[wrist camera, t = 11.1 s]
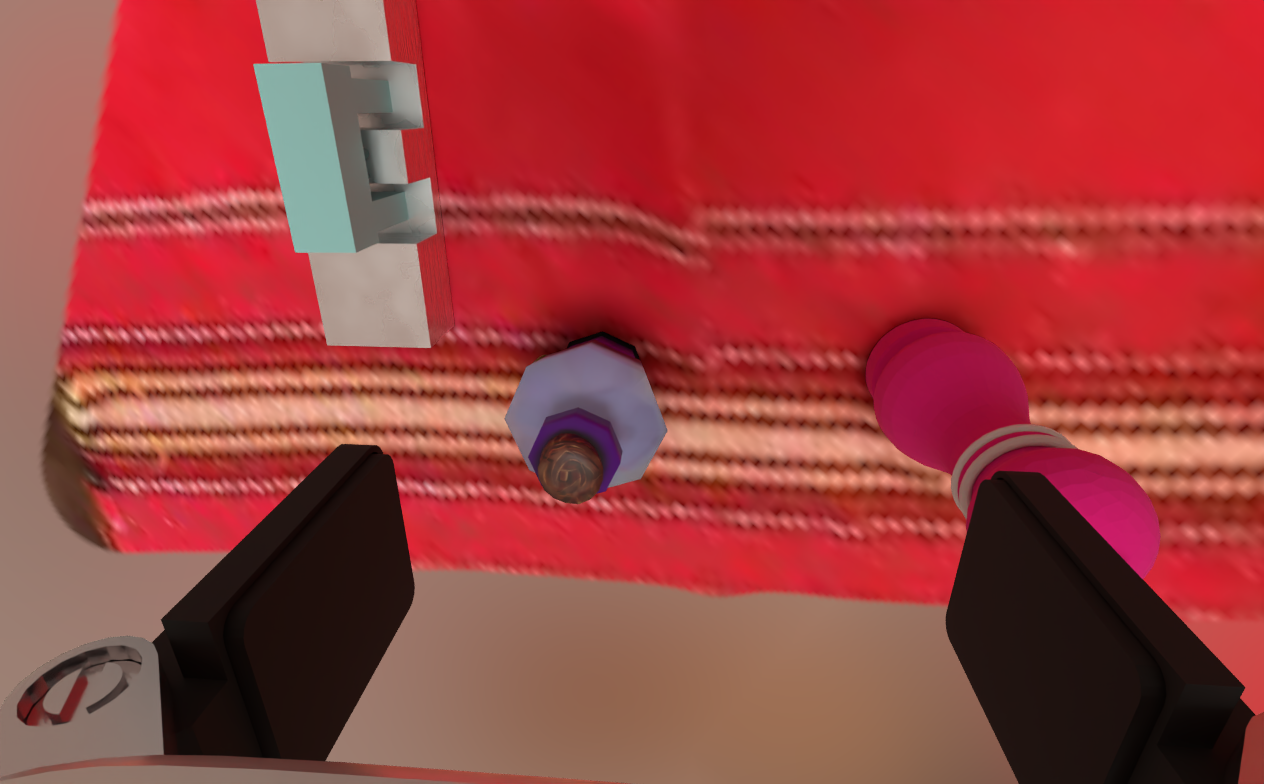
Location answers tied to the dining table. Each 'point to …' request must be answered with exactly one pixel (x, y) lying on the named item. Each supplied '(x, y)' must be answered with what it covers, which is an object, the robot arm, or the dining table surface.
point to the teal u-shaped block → (326, 155)
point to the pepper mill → (995, 431)
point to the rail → (377, 171)
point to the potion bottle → (586, 418)
